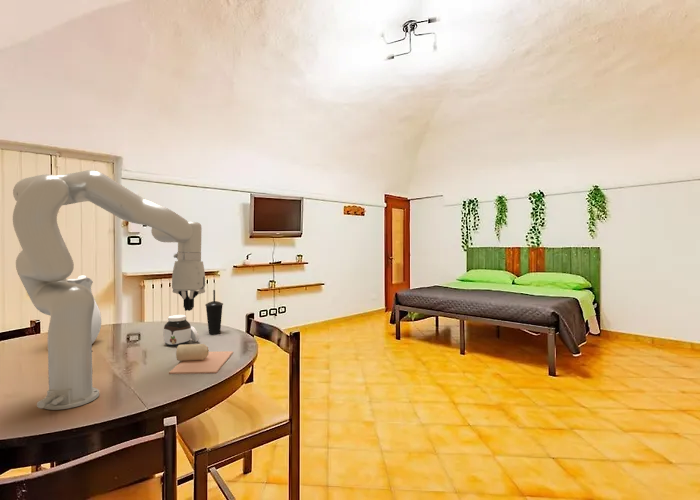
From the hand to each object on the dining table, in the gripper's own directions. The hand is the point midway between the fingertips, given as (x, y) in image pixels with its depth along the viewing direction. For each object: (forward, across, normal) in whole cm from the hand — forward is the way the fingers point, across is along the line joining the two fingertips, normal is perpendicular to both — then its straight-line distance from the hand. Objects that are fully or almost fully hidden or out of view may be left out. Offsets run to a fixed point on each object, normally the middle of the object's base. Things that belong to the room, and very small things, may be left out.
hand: (188, 309), depth 133 cm
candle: (+15, -4, +2) cm, 16 cm away
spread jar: (+19, -11, +26) cm, 34 cm away
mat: (+19, +5, +1) cm, 19 cm away
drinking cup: (+18, -3, +42) cm, 46 cm away
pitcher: (+19, -54, +29) cm, 64 cm away
